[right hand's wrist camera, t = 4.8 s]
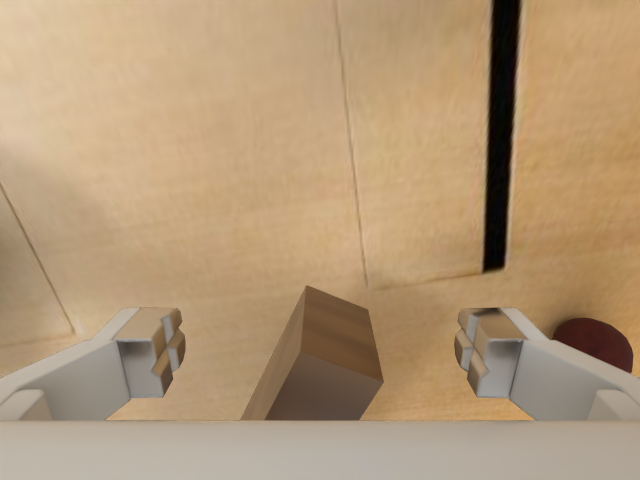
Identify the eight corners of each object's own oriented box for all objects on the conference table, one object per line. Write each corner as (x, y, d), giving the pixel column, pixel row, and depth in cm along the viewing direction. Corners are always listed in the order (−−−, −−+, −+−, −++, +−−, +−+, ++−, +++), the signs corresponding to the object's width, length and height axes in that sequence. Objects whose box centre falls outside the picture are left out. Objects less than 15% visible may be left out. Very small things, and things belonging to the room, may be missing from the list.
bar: (306, 284, 29) (300, 350, 21) (368, 309, 30) (384, 382, 22) (204, 491, 38) (174, 591, 30) (254, 506, 39) (237, 607, 31)
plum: (553, 369, 44) (594, 416, 37) (525, 327, 41) (563, 369, 35) (612, 340, 42) (665, 383, 35) (586, 293, 40) (638, 331, 33)
